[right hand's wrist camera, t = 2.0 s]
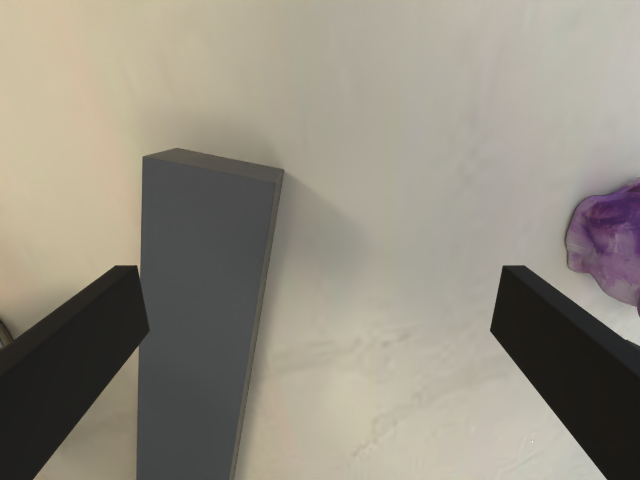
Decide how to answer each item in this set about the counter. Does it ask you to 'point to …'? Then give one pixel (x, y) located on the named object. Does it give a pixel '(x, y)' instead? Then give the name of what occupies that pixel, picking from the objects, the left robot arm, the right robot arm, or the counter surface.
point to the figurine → (609, 242)
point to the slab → (200, 308)
